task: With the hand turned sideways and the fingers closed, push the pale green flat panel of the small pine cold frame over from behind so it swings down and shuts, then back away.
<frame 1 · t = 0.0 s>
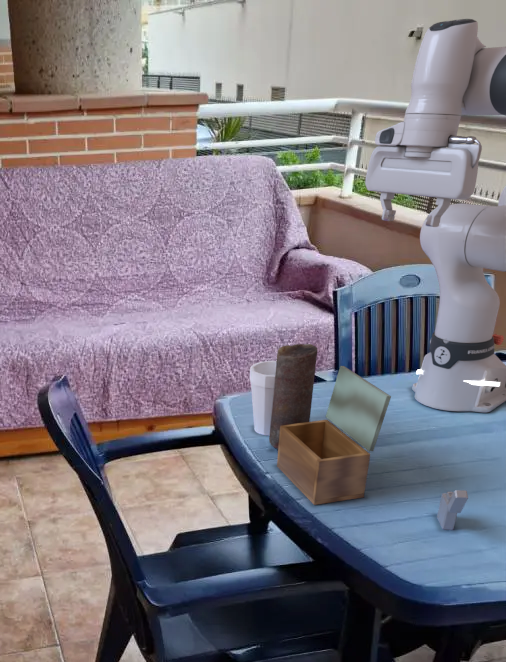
hand: (409, 223, 132), 39 cm above the table, tool pointing down, fingers open, 8 cm apart
pale green flat panel: (356, 407, 127), point 13 cm above the table, hinge at 100.0°
lighter: (446, 528, 118), on the table
dark brown rough cylinder: (287, 448, 146), on the table
foam cup: (269, 430, 154), on the table
cold frame: (318, 481, 133), on the table
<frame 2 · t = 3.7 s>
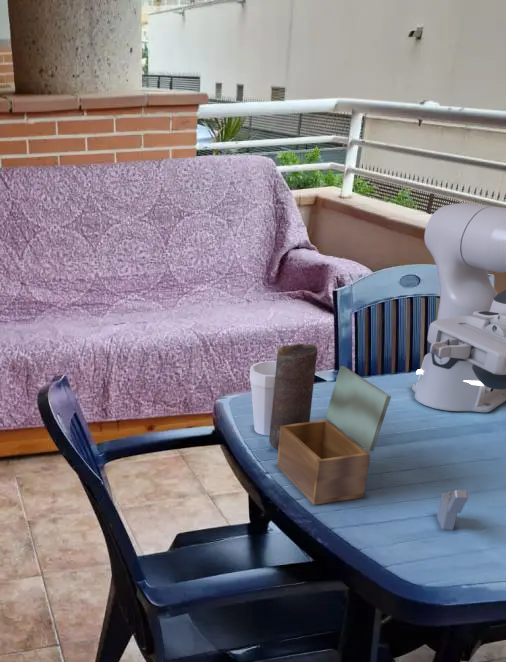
hand: (435, 350, 125), 22 cm above the table, tool horizontal, fingers closed
nothing on the table moved.
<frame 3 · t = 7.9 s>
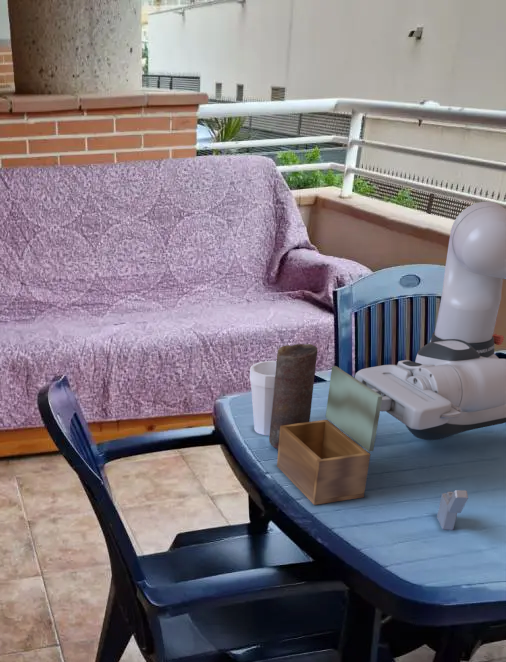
hand: (356, 402, 126), 14 cm above the table, tool horizontal, fingers closed
pale green flat panel: (352, 407, 127), point 13 cm above the table, hinge at 90.6°, touching gripper
everything else where it was.
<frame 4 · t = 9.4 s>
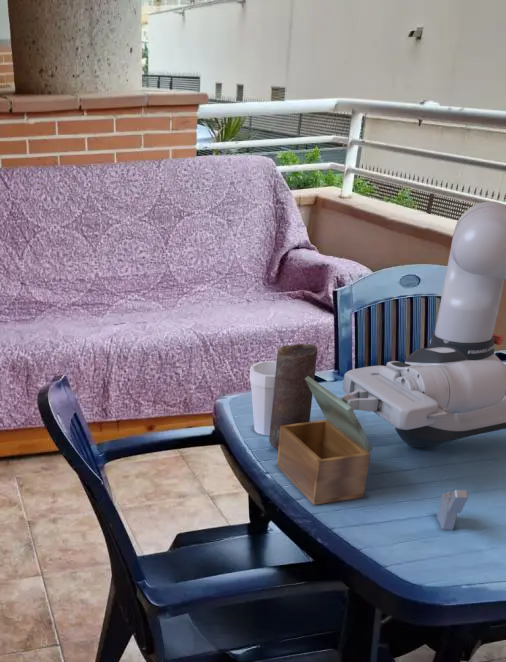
hand: (344, 402, 126), 14 cm above the table, tool horizontal, fingers closed
pale green flat panel: (337, 413, 127), point 13 cm above the table, hinge at 58.6°
everything else where it was.
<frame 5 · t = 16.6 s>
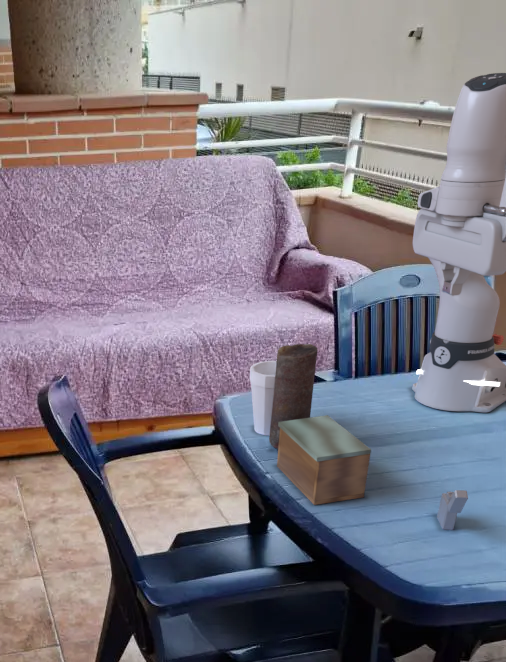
hand: (450, 293, 120), 31 cm above the table, tool pointing down, fingers closed
pale green flat panel: (322, 437, 129), point 9 cm above the table, hinge at -0.3°
everything else where it was.
at the end: pale green flat panel at +0° (first picture: +100°); dark brown rough cylinder moved 0.2 cm from its start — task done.
